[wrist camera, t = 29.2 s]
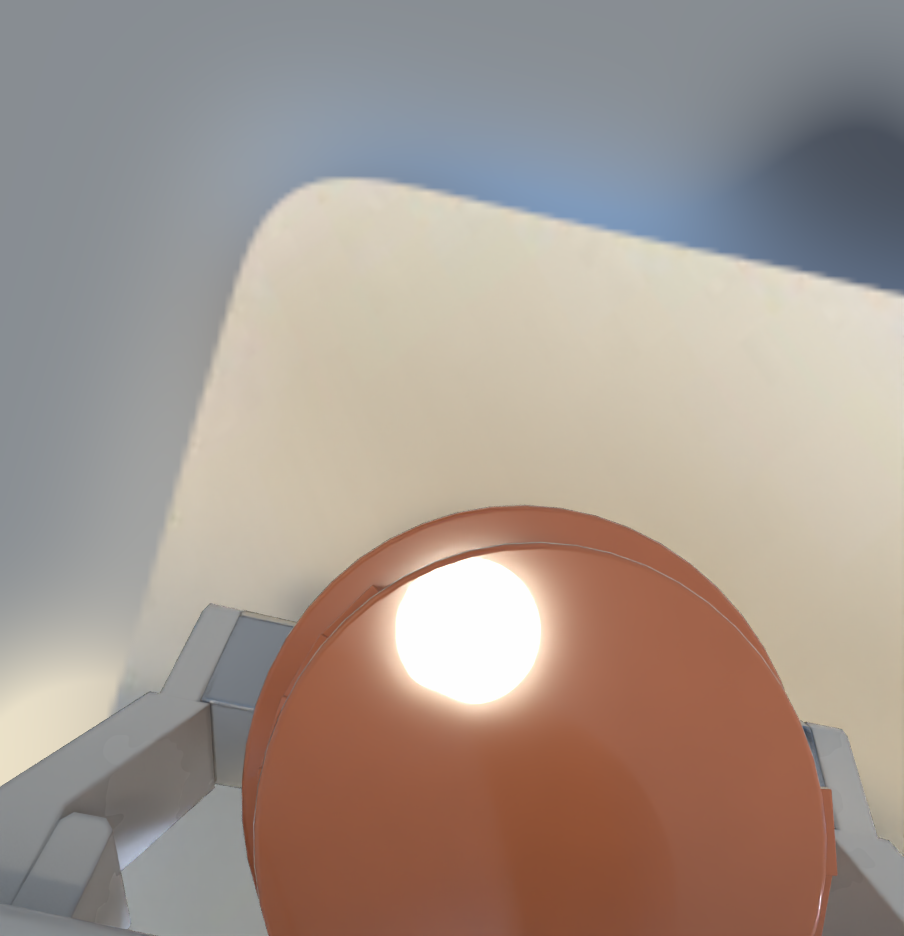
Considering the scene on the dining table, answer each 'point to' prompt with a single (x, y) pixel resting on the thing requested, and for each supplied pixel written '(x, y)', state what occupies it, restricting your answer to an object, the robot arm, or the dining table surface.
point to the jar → (531, 747)
